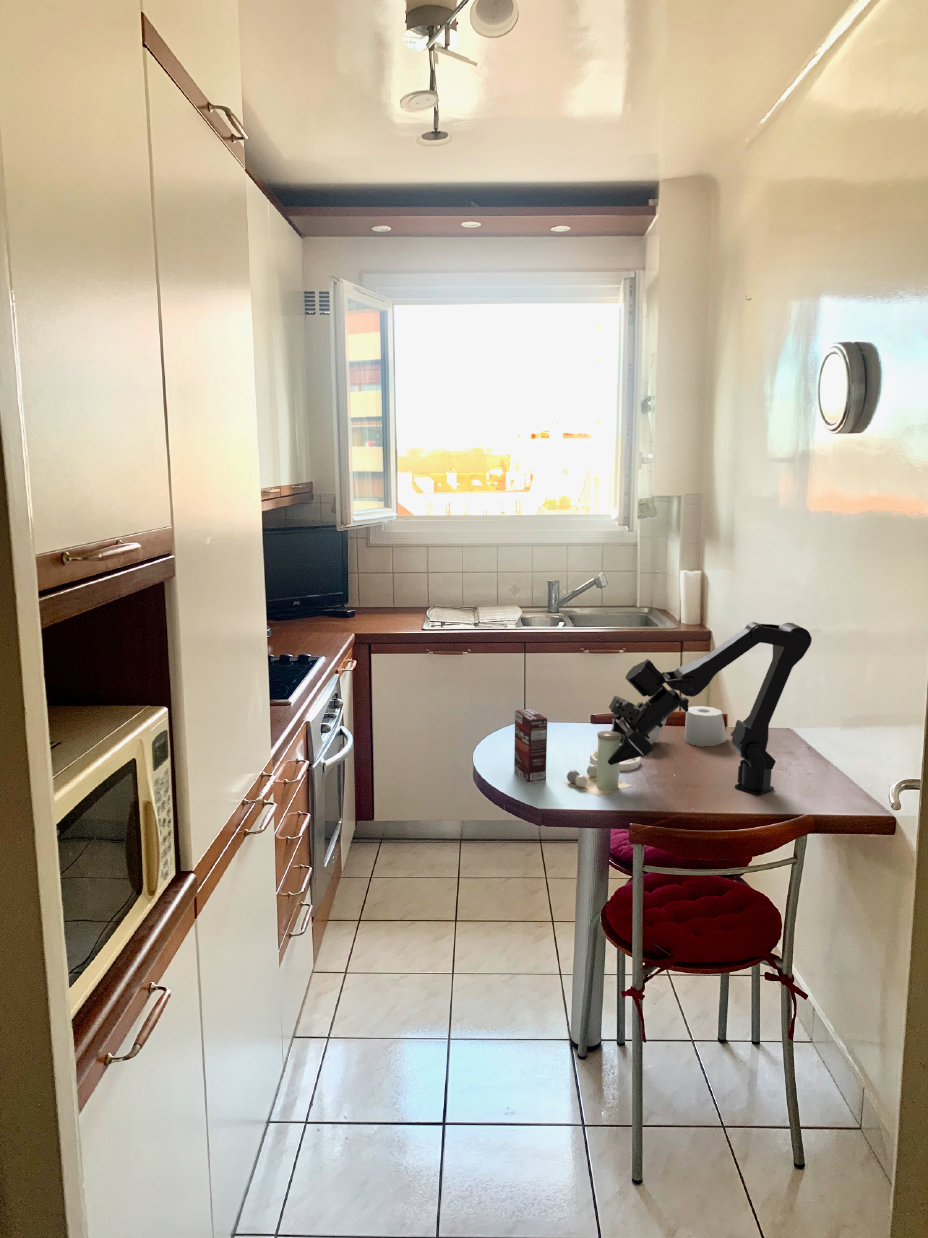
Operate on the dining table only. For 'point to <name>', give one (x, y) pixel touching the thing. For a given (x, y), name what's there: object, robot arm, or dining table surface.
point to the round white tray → (623, 765)
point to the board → (593, 789)
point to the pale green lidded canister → (606, 749)
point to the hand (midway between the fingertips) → (605, 756)
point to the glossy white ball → (592, 771)
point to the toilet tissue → (704, 726)
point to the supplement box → (530, 746)
